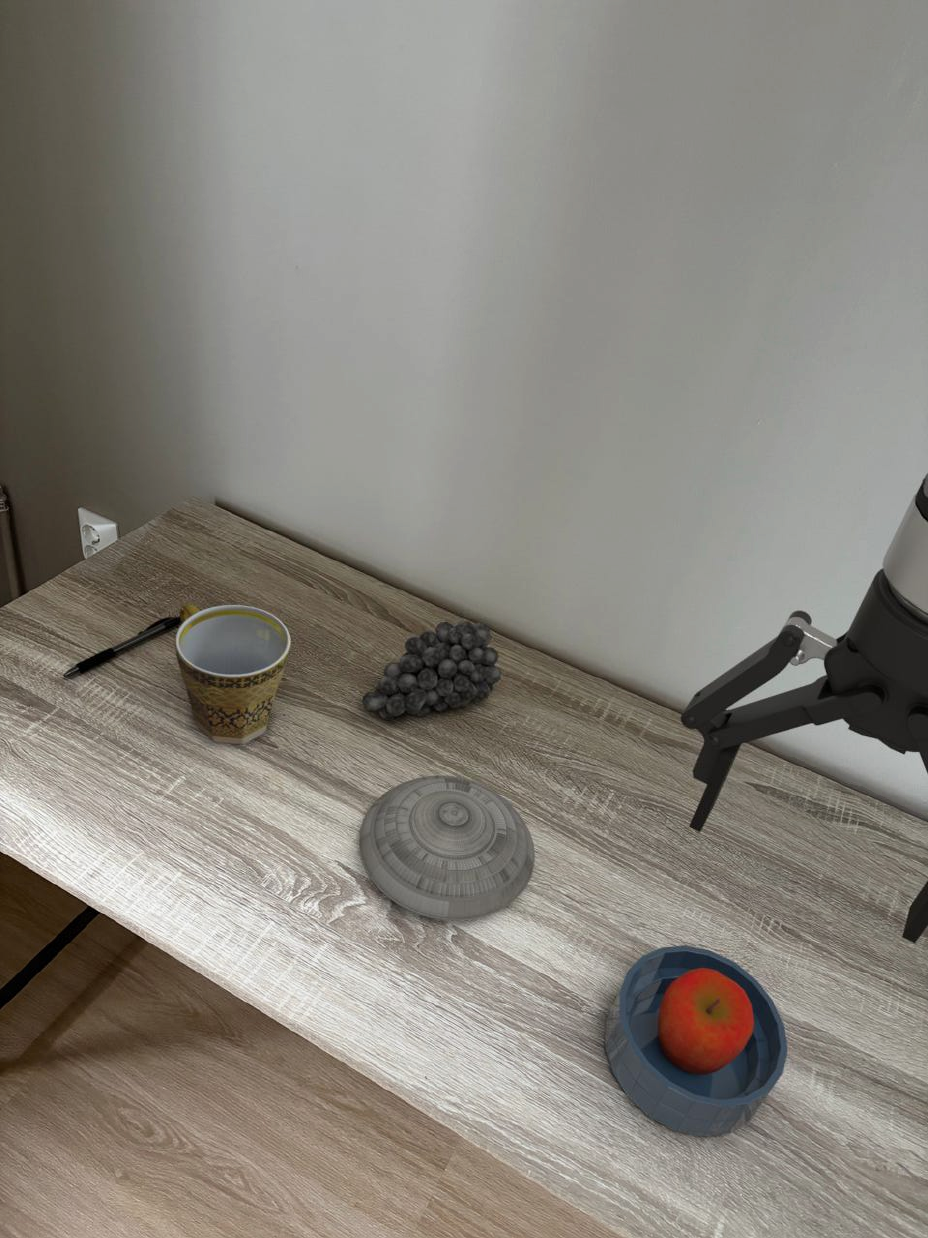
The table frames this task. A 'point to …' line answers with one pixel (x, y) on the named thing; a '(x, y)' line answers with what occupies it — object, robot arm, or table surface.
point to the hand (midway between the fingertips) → (802, 869)
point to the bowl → (671, 1090)
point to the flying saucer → (447, 848)
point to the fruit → (438, 672)
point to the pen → (124, 645)
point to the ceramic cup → (231, 668)
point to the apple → (704, 1021)
